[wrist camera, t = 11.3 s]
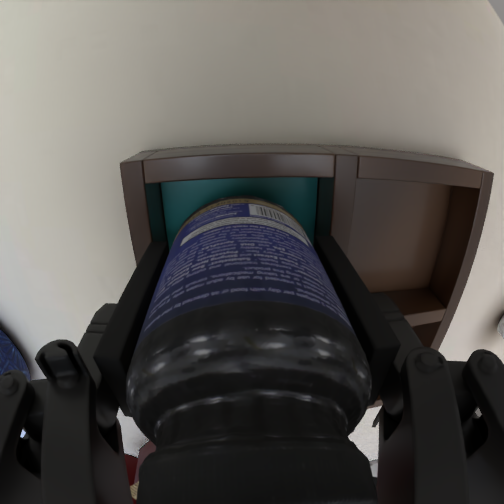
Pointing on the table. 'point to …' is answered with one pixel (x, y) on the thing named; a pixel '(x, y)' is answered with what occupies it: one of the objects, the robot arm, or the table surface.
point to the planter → (11, 357)
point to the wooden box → (335, 211)
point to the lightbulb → (501, 326)
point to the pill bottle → (248, 368)
